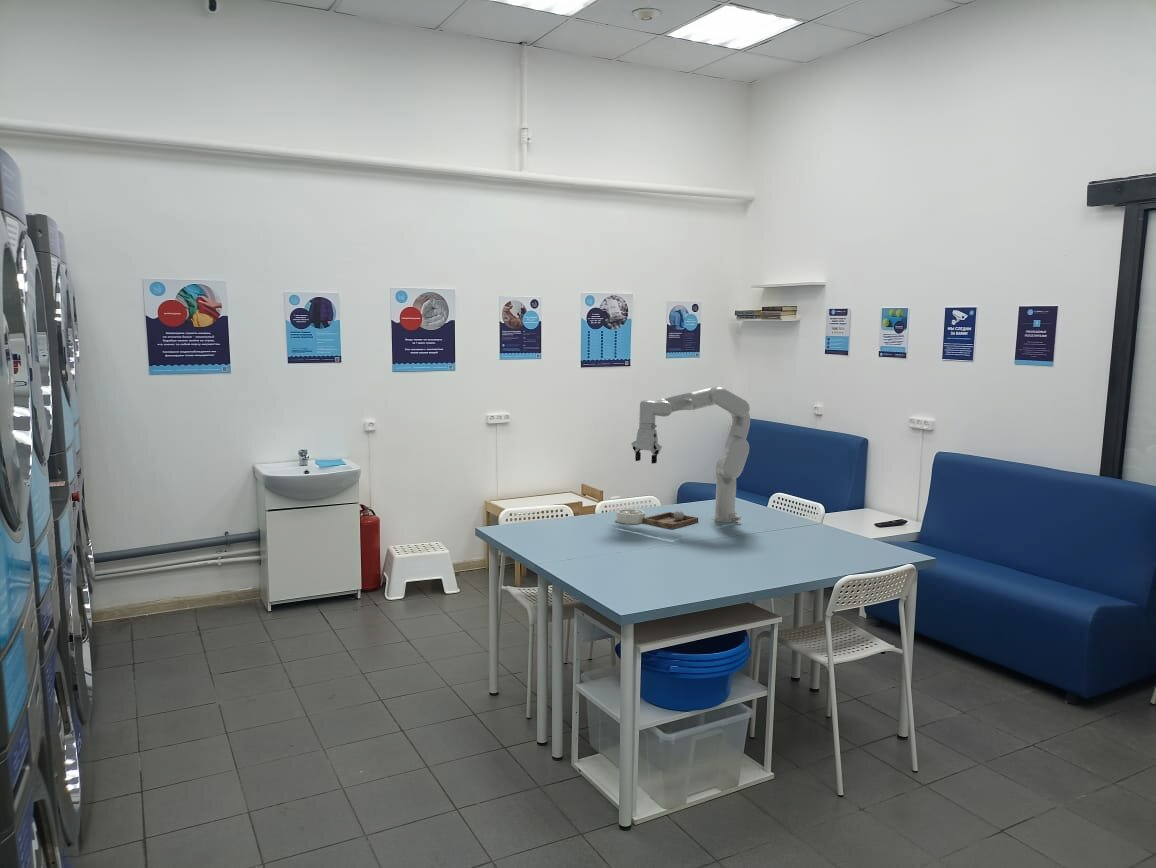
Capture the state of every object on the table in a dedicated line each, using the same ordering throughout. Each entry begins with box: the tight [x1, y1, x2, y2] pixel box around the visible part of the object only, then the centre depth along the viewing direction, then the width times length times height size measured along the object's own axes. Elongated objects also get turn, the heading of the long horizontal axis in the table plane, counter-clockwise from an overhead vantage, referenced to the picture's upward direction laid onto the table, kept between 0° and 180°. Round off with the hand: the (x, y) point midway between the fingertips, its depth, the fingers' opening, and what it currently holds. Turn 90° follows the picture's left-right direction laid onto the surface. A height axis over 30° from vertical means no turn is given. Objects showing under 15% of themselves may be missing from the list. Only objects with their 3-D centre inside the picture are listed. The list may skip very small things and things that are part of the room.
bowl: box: [615, 508, 646, 525], centre depth 386 cm, size 13×13×5 cm
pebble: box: [673, 509, 685, 521], centre depth 388 cm, size 5×5×5 cm
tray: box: [643, 511, 699, 530], centre depth 383 cm, size 17×21×3 cm
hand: (645, 462), depth 388 cm, fingers open, 9 cm apart
